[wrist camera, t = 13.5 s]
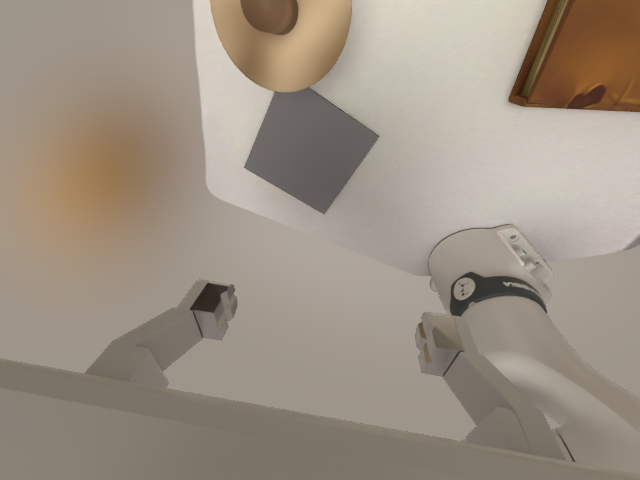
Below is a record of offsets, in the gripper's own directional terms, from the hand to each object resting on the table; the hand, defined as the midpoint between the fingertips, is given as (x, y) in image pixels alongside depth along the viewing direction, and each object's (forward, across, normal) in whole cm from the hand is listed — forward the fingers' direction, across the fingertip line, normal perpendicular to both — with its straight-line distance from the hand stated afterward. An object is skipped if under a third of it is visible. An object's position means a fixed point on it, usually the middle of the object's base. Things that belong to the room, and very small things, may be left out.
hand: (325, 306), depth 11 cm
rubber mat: (+34, -7, -4) cm, 35 cm away
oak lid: (+19, -6, +11) cm, 23 cm away
